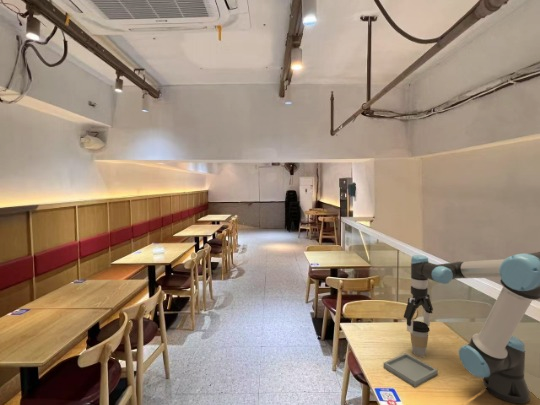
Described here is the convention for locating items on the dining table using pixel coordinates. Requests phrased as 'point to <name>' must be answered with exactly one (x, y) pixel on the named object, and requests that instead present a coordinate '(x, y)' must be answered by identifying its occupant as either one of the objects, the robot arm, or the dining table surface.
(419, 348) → the coffee cup
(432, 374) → the tray
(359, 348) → the dining table surface
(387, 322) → the dining table surface
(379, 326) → the dining table surface
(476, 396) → the dining table surface
